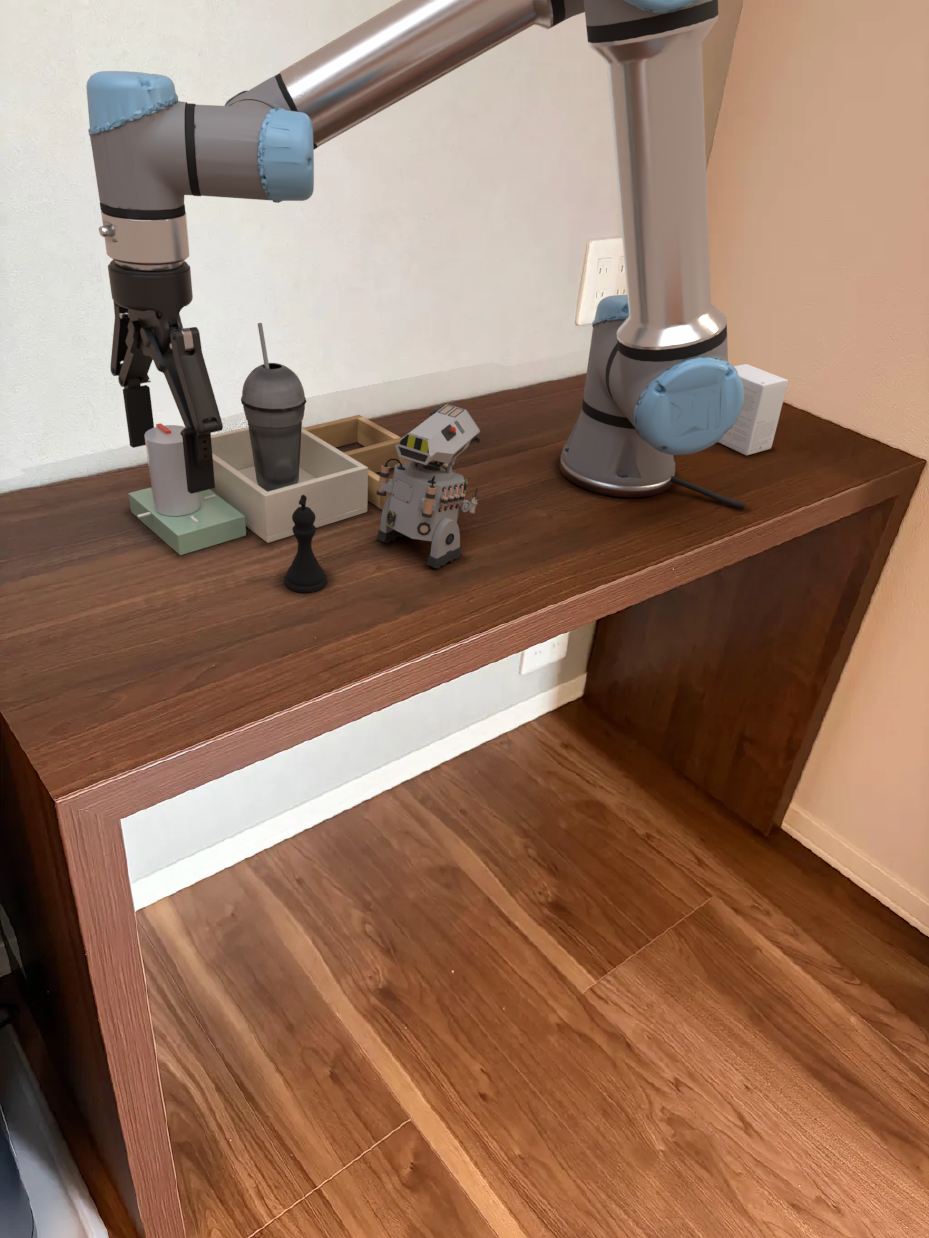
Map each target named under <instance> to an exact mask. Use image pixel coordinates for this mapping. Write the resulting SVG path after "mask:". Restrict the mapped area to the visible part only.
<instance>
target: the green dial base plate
mask: <svg viewBox="0 0 929 1238" xmlns="http://www.w3.org/2000/svg"><path fill="white" fill-rule="evenodd" d="M128 501H129V506H130V513H131V514H132V515H134V516H135V517H136V518H137V519H138V520H139V521H140V522H141V523H143V524H144V526H146V527H147V528H149V529H150V530H151V531H152V532H153V533H154V534H155V535H156V536H157V537H159V538H160V539H161V540H162V541H163V542H164V543H165V544H166V545H168V546H169V547H170V548H171V549H172V550H173V551H174V552H176V553H177V555H179V556H183V555H186V554H190V553H193V552H197V551H199V550H203V549H207V548H209V547H213V546H216V545H219V544H224V543H226V542H230V541H233V540H236V539H239V538H243V537H245V536H247V527H246V524H245V516H244V515H243V514H242V513H240V512H239V511H238V510H236V509H235V508H234V507H232V506H231V505H230V504H228V503H227V502H226V501H225V500H223V499H222V498H221V497H219V496H218V495H217V494H215V493H214V492H213V491H211V490H210V489H208V490H204V491H200V501H201V506H200V508H199V509H198V510H197V511H195V512H193V513H191V514H188V515H183V516H167V515H163V514H160V513H158V512H157V511H156V510H155V509H154V505H153V497H152V489H151V487H147V488H142V489H138V490H135V491H132V492H128Z"/></svg>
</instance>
